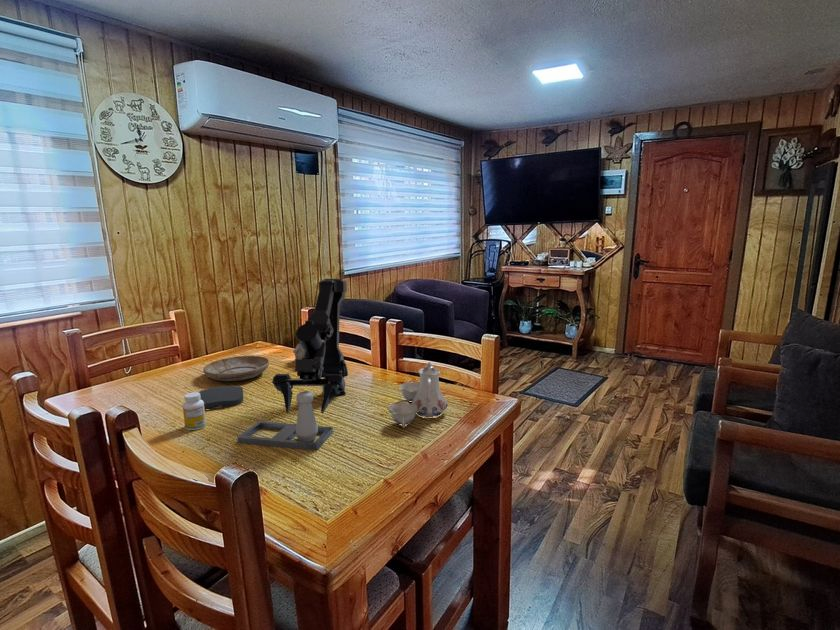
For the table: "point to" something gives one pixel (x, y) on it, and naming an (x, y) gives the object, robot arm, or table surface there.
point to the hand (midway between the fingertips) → (304, 412)
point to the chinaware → (420, 397)
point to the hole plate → (283, 436)
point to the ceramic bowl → (236, 368)
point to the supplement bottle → (194, 411)
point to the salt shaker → (306, 418)
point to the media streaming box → (222, 397)
